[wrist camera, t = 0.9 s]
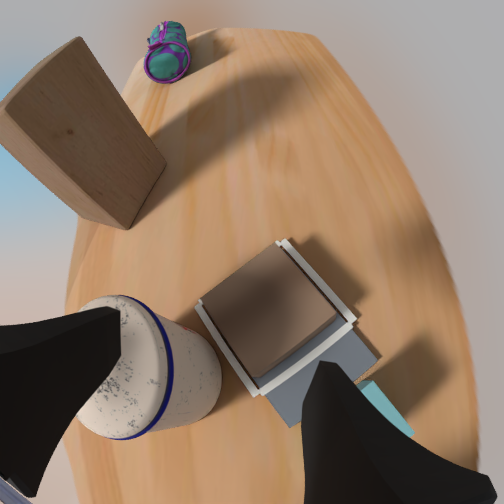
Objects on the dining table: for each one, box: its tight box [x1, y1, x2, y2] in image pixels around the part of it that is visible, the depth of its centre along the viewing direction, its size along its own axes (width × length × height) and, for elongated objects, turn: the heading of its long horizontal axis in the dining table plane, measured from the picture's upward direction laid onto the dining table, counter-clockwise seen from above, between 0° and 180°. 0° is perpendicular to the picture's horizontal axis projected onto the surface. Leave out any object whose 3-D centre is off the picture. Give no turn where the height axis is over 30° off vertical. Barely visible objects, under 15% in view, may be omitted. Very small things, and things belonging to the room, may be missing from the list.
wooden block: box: [0, 37, 166, 230], centre depth 25 cm, size 10×10×20 cm
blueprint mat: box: [194, 239, 378, 428], centre depth 21 cm, size 13×10×1 cm
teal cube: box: [356, 380, 415, 437], centre depth 15 cm, size 4×4×5 cm
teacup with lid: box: [75, 295, 222, 440], centre depth 17 cm, size 12×9×12 cm
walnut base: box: [200, 242, 336, 377], centre depth 21 cm, size 7×7×2 cm
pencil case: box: [144, 21, 191, 84], centre depth 45 cm, size 21×9×10 cm, turn 16°
